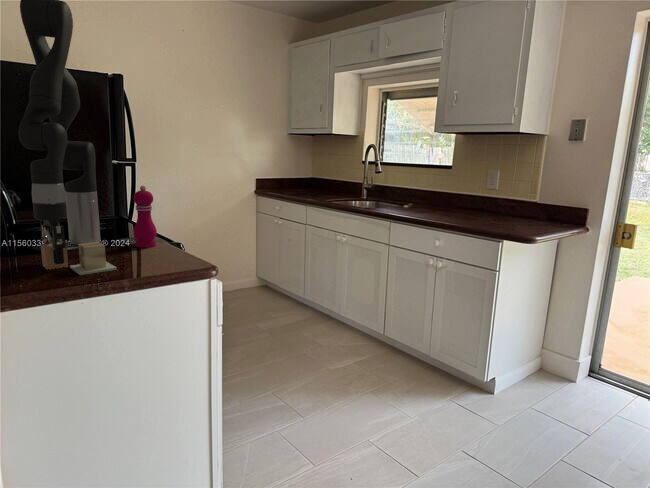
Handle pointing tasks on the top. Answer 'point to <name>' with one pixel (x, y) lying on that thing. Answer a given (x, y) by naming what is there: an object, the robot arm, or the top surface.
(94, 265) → the maple block
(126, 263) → the top surface
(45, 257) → the terracotta block
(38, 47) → the robot arm
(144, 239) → the pepper mill
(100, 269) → the pad
